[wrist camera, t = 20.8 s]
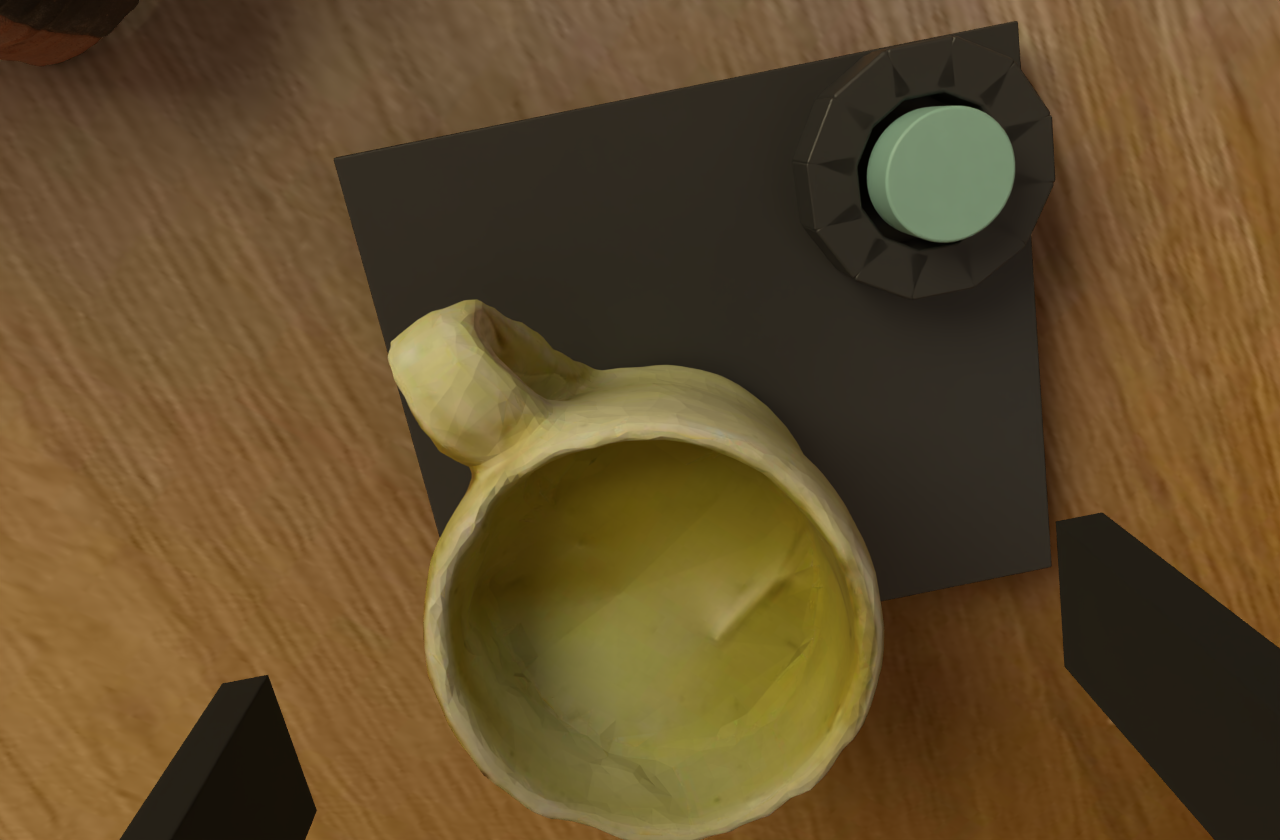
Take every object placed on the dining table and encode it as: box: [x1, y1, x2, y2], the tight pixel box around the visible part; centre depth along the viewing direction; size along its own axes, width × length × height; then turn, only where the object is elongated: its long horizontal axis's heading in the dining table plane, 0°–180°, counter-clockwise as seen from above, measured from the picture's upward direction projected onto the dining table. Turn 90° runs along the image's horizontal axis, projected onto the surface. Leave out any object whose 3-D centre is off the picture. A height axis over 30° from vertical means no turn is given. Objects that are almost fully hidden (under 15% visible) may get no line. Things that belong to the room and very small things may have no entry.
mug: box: [388, 299, 884, 840], centre depth 22 cm, size 12×10×10 cm
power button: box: [867, 106, 1015, 243], centre depth 22 cm, size 3×3×2 cm
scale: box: [334, 21, 1055, 601], centre depth 25 cm, size 17×15×3 cm
